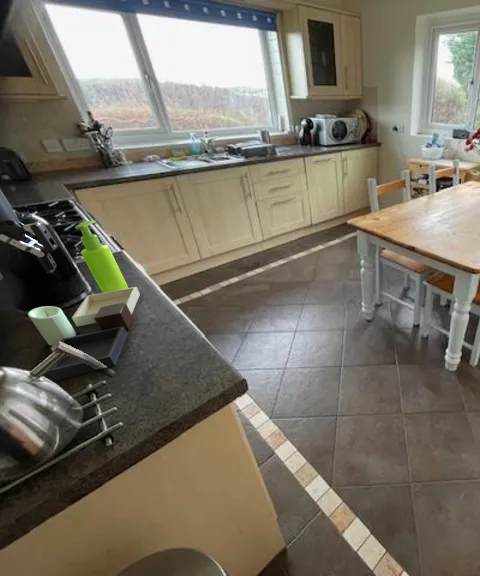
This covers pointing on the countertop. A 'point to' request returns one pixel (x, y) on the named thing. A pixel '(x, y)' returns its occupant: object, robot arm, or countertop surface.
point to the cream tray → (104, 304)
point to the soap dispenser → (100, 261)
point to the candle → (51, 324)
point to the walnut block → (114, 317)
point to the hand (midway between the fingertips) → (25, 275)
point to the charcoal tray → (90, 352)
